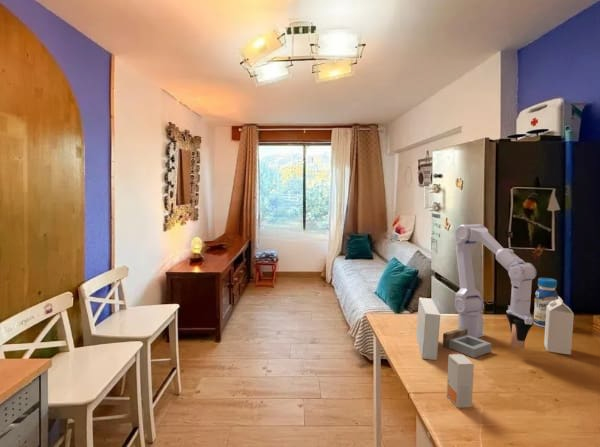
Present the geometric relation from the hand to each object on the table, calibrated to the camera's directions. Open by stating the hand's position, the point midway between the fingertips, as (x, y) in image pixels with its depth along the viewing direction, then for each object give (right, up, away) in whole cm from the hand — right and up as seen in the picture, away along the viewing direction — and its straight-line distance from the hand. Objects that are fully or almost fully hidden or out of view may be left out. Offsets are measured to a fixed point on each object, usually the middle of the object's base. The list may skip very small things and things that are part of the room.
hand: (518, 337), depth 130 cm
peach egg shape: (0, -3, 0) cm, 3 cm away
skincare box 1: (-29, -6, +8) cm, 30 cm away
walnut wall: (-17, -6, +12) cm, 21 cm away
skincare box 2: (-32, -9, -27) cm, 43 cm away
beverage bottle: (+31, -5, +34) cm, 46 cm away
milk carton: (+18, -7, +8) cm, 21 cm away
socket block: (-14, -6, +7) cm, 16 cm away
